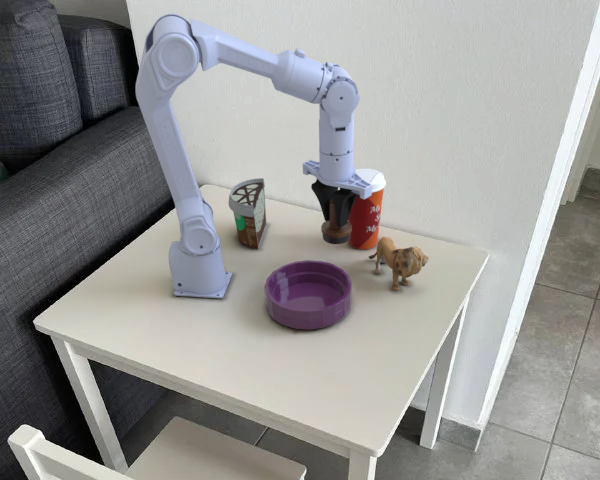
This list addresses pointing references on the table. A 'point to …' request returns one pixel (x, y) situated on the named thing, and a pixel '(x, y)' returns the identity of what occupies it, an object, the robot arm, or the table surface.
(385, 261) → the lion figurine
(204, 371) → the table surface
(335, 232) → the brown stamp
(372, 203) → the paper cup
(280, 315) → the bowl
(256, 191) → the food container
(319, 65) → the robot arm
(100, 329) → the table surface
